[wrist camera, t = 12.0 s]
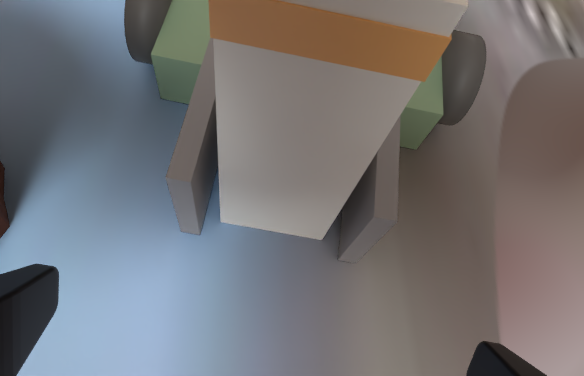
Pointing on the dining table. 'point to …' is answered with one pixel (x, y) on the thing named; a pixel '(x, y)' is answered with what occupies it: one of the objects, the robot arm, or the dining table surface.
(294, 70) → the beige box
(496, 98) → the dining table surface
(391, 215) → the green and grey base
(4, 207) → the muffin
